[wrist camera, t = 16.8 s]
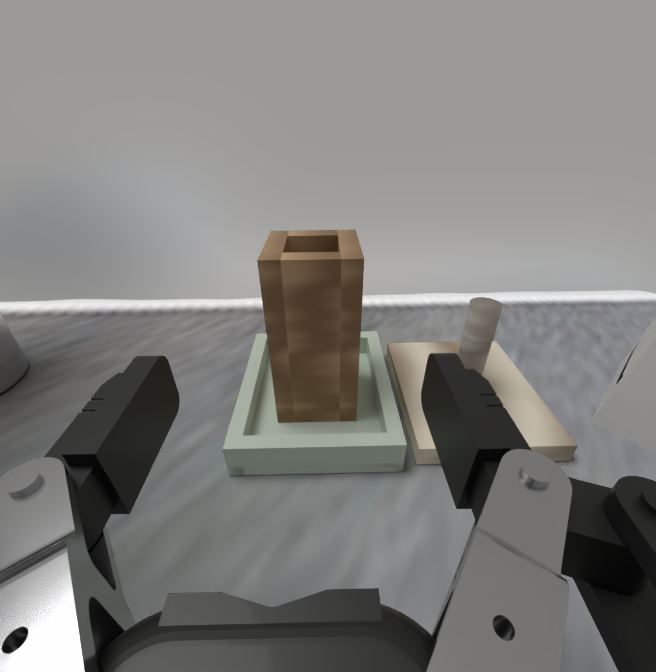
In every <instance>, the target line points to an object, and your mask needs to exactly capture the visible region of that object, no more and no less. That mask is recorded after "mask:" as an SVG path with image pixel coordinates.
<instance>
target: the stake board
mask: <svg viewBox="0 0 656 672" xmlns="http://www.w3.org/2000/svg"><path fill="white" fill-rule="evenodd" d="M501 310H502V304H501V303H500V302H498V301H496V300H493V299H490V298H483V297H478V298H473V299H472V300H471V301H470V305H469V309H468V313H467V317H466V322H465V326H464V330H463V334H462V339H461V342H427V343H388V345H387V355H386V357H387V360H388V364H389V368H390V371H391V375H392V379H393V382H394V386H395V389H396V393H397V397H398V400H399V404H400V407H401V411H402V415H403V418H404V422H405V425H406V429H407V433H408V436H409V440H410V443H411V447H412V451H413V454H414V458H415V462H416V465H418V464H441V462H440V459H439V456H438V453H437V450H436V448H435V445H434V442H433V439H432V436H431V433H430V430H429V427H428V424H427V421H426V419H425V416H424V413H423V409H422V404H421V390H422V385H423V380H424V375H425V370H426V365H427V360H428V356H429V354H430V353H456V354H457V355H458V356H459V358H460V360H461V361H462V363H463V365H464V367H465V368H466V369H475V370H476V371H477V372H478V373H479V374H481V375H482V376H483V377H484V378H486V379H487V380H488V381H489V383H490V384H491V386H492V388H493V389H494V391H495V392H496V396H498V397H499V399H500V400H501V402H502V403H503V407H505V408H506V410H507V411H508V413H509V415H510V416H511V418H512V419H513V421H514V423H515V424H516V426H517V427H518V429H519V431H520V432H521V434H522V435H523V437H524V439H525V440H526V442H527V443H528V445H529V447H530V448H531V450H532V451H535V452H537V453H540V454H542V455H544V456H546V457H548V458H549V459H551V460H552V461H569V460H570V459H571V457H572V455H573V453H574V452H575V450H576V448H577V446H578V445H577V444H576V443H575V441H574V440H573V439H572V437H571V436H570V435H569V434H568V432H567V431H566V430H565V429H564V427H563V426H562V425H561V424H560V422H559V421H558V420H557V418H556V417H555V416H554V415H553V413H552V412H551V411H550V410H549V408H548V407H547V406H546V405H545V403H544V402H543V401H542V399H541V398H540V397H539V396H538V394H537V393H536V392H535V391H534V389H533V388H532V387H531V385H530V384H529V383H528V382H527V380H526V379H525V378H524V377H523V375H522V374H521V373H520V372H519V370H518V369H517V368H516V366H515V365H514V364H513V363H512V361H511V360H510V359H509V358H508V356H507V355H506V354H505V352H504V351H503V350H502V349H501V347H500V346H499V345H498V344H497V342H496V341H493V338H494V334H495V331H496V327H497V324H498V320H499V317H500V314H501Z"/></svg>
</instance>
